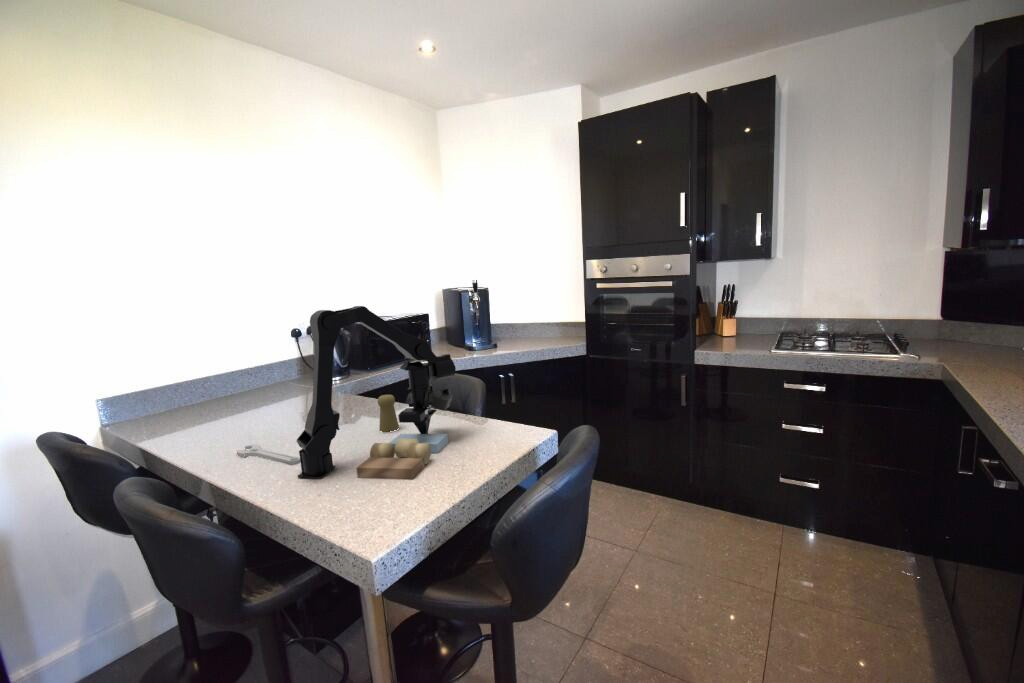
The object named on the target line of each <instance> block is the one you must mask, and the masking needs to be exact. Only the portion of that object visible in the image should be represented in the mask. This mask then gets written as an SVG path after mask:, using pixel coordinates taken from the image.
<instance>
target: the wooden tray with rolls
mask: <svg viewBox="0 0 1024 683" xmlns="http://www.w3.org/2000/svg"><path fill="white" fill-rule="evenodd" d="M431 454H432V453H431V449H430V445H429V444H427V443H411V444H410V445H409V447H408V450H407V458H398V457H395V455H396V453H395V449H394V446H393V444H392V443H389V442H374V443H373V444H372V445H371V448H370V450H369V457H368V458H367V459H366V460H364V461H363V462H361V464H359V465H357V466H356V476H357V478H359V479H360V477H361V479H387V478H390V480H391V479H394V480H395V479H396V480H414V478H416V477H417V475H418V474H419V473H420V472H421V471H422V470H423V469H425V465H427V464H429V463H430V460H431V456H432V455H431Z"/></svg>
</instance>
